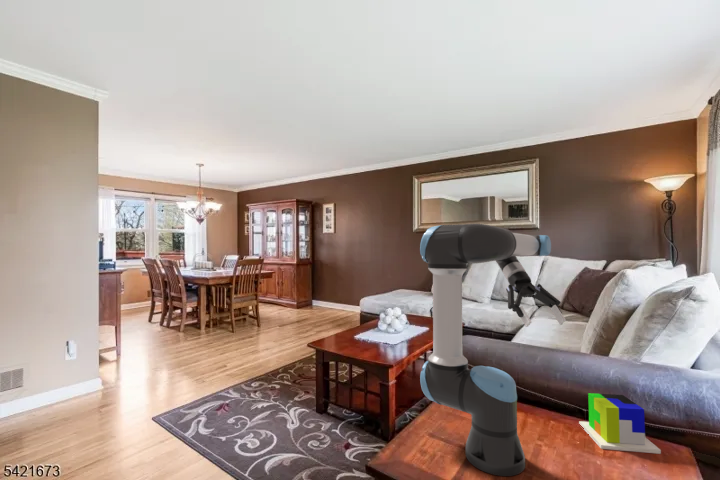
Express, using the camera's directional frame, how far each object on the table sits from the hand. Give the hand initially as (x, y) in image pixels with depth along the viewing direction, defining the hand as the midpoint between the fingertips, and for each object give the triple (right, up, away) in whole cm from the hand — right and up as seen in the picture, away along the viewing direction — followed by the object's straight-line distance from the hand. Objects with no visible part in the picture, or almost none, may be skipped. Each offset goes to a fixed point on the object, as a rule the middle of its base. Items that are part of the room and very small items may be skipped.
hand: (546, 323), depth 118 cm
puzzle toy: (+13, -30, -14) cm, 36 cm away
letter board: (+14, -31, -14) cm, 37 cm away
